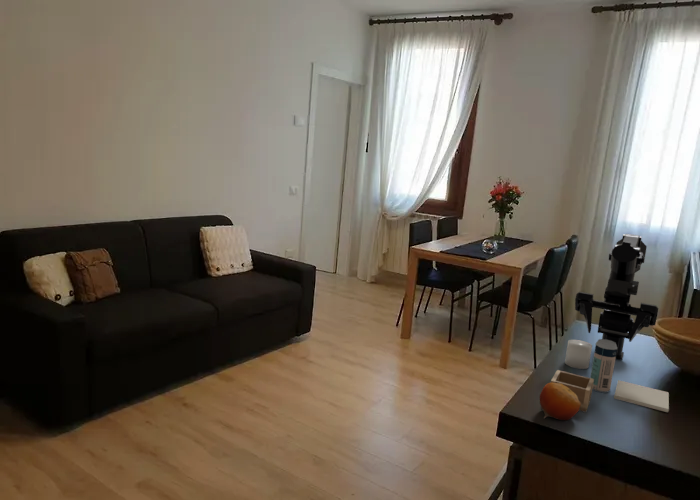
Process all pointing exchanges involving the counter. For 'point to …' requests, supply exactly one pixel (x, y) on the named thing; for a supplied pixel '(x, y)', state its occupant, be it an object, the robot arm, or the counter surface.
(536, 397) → the counter surface
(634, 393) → the plate
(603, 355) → the beer can
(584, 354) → the white rounded cylinder
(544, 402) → the fruit
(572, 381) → the oak box
